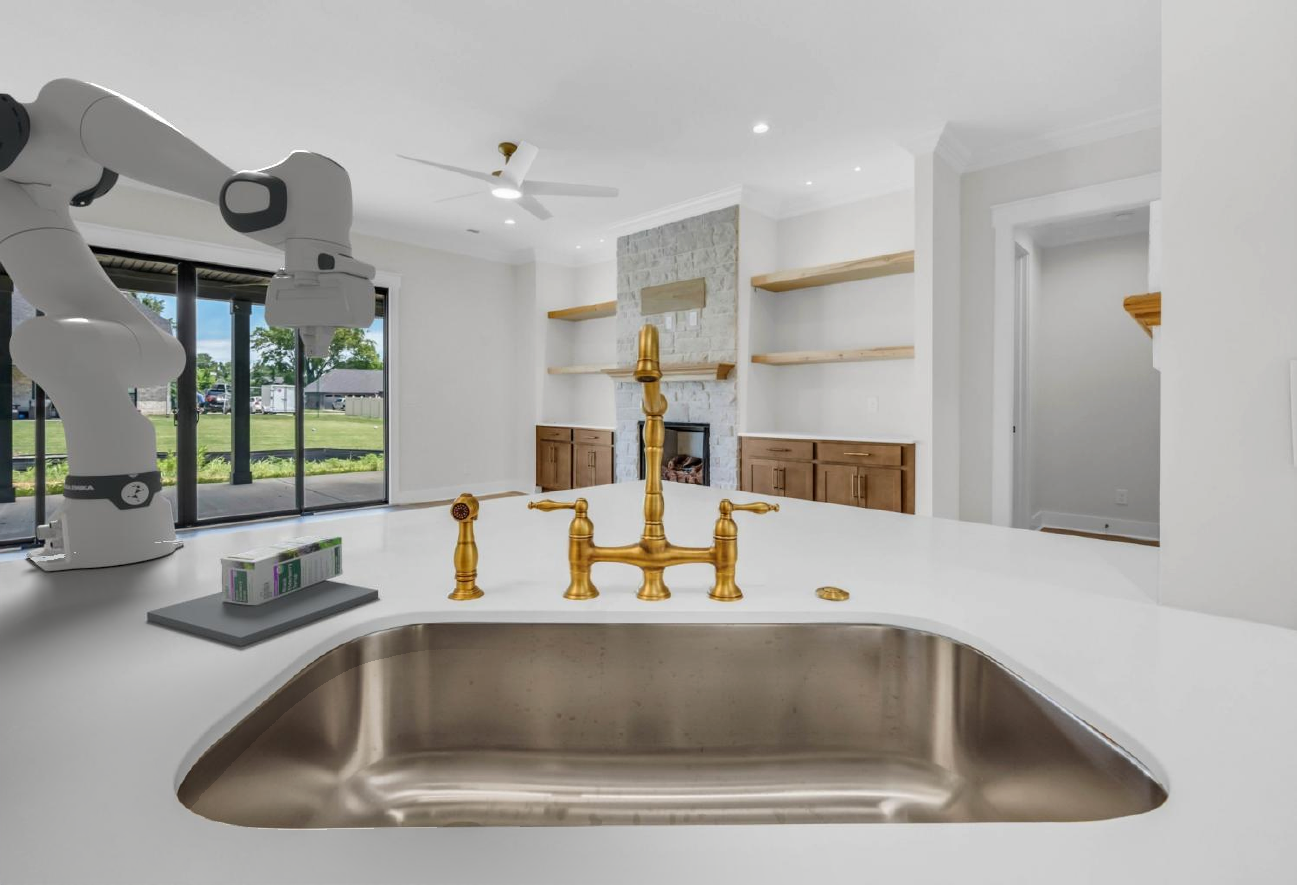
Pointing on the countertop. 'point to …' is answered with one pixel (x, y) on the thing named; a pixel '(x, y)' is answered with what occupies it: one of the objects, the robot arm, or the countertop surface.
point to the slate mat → (260, 612)
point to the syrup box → (280, 569)
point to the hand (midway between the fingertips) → (316, 358)
